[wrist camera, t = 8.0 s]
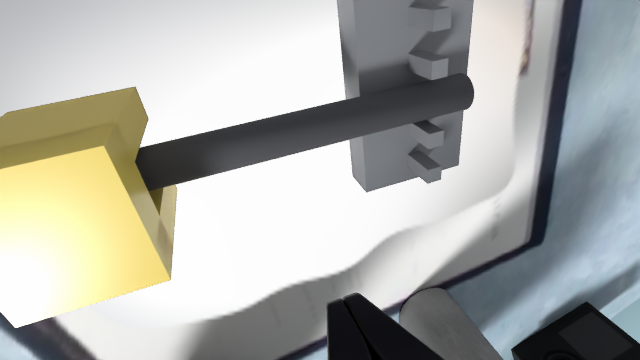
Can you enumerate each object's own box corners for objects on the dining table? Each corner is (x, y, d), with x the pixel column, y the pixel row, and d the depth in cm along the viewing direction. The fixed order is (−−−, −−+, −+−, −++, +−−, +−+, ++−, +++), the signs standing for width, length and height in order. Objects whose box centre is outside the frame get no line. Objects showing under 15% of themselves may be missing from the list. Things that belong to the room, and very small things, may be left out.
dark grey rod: (429, 30, 19) (516, 48, 14) (426, 119, 21) (498, 161, 16) (-187, 155, 13) (-412, 258, 8) (-90, 252, 16) (-218, 375, 11)
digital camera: (587, 294, 39) (656, 348, 33) (587, 318, 42) (651, 372, 36) (508, 343, 39) (564, 407, 33) (514, 364, 42) (566, 426, 36)
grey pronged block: (438, 151, 23) (481, 180, 19) (352, 176, 22) (382, 211, 18) (449, -27, 17) (509, -29, 14) (336, -8, 16) (373, -5, 13)
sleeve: (176, 188, 18) (170, 279, 13) (72, 216, 17) (15, 327, 12) (135, 86, 15) (104, 145, 10) (7, 112, 14) (-109, 193, 9)
